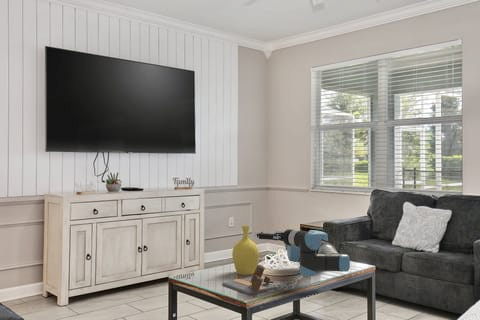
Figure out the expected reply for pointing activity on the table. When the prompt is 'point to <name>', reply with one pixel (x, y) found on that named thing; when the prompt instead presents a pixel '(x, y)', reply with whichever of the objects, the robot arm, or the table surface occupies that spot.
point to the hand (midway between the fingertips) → (265, 233)
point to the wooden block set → (258, 278)
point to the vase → (245, 254)
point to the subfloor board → (247, 286)
